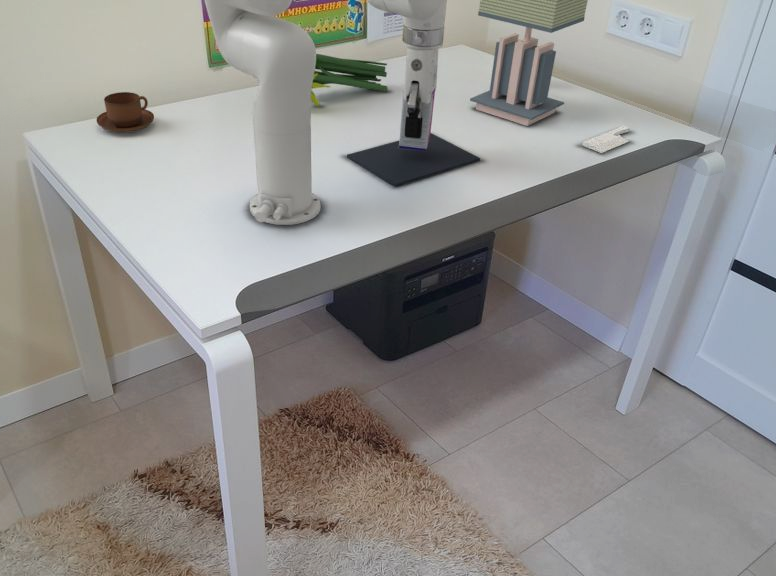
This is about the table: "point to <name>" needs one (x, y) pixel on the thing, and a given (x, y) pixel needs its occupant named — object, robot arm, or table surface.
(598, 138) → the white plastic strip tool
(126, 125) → the cup and saucer
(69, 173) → the table surface
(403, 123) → the supplement box
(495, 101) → the desk lamp
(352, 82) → the daffodil flowers
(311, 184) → the robot arm
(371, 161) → the desk pad
